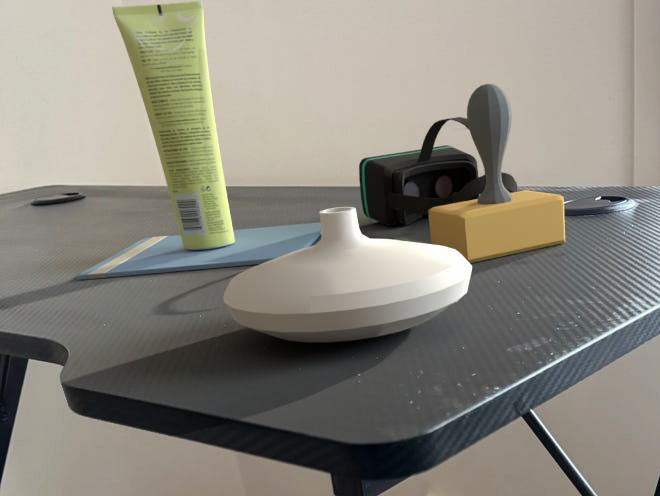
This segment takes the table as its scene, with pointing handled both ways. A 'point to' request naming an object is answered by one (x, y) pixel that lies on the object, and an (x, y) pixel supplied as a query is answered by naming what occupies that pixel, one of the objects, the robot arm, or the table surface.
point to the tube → (180, 114)
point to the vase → (347, 285)
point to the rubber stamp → (496, 195)
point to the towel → (205, 252)
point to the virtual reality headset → (420, 180)
